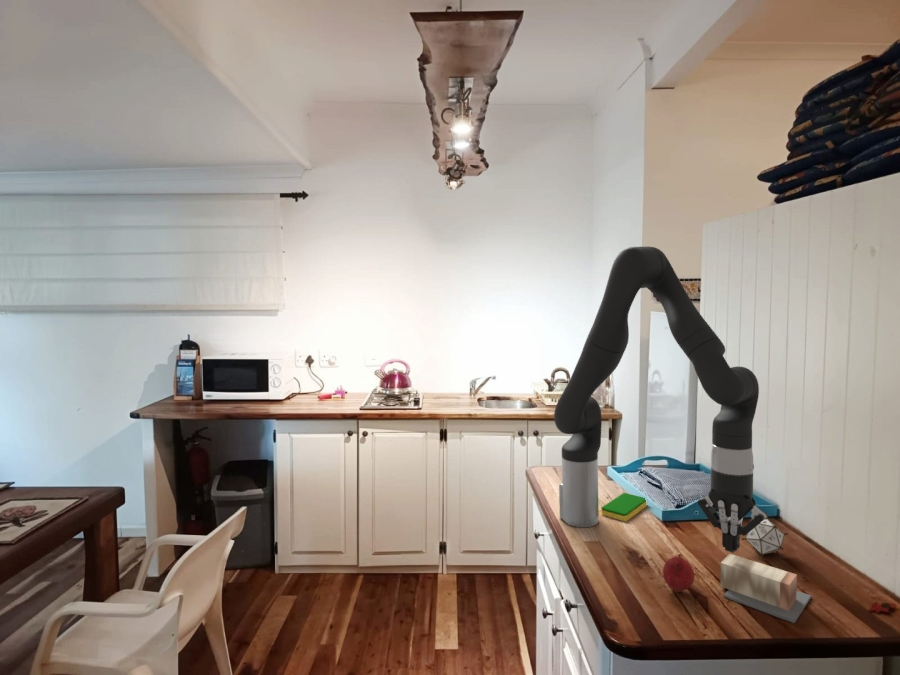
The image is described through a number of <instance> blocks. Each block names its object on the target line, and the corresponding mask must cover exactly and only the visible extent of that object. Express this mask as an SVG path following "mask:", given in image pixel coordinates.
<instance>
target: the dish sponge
mask: <svg viewBox="0 0 900 675" xmlns="http://www.w3.org/2000/svg"><path fill="white" fill-rule="evenodd" d="M645 498H646V497H644V498H643V496H639V495H634V494H631V493H627V492H623V493H621V494H620V495H618V496H617V497H615V498H613V499H612V500H610V501H609V502H608V503H606V504H605V505H603V506H602V507H600V508H601V510H600V512H601V516H604V515H605V516H604V517H608V518H611V517H612V518H611V519H615V520H618V521H622V522H627V521H628V520H630V519H631V518H633V517H634V516H635V515H636V514H638V513H639V512H641V511H642V510H643V509H645V508H646V507H647V506H646V500H645Z"/></svg>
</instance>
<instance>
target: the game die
mask: <svg viewBox="0 0 900 675" xmlns="http://www.w3.org/2000/svg"><path fill="white" fill-rule="evenodd" d="M751 520H753V519H752V518H750V519H749V522H750V521H751ZM788 535H789V533H788V532H785V533H784V531H782V530H781V529H779V528H778V525H777V524H774V523H773V522H772V521H771V520H770V519H769V515H768V514H767V517H766V518H765V519H764V520H763V521H762V522H761V523H760V524H758V525H757V526H756V527H755V528H754V529H752V530H751V531H750V532H749V533H748V534H746V535H745V537H741V540H742V541H746V542H747V543H748V544H750V546H752V548H754V549H755V550H756V551H757V553H759V554H760V556H759V557H760V559H763V558H764V555H768V554H771V553H776V554H777V555H779V554H780V552H779V550H781V551H785V548H784V547H782V545H783V541H784V539H785V536H788Z"/></svg>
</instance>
